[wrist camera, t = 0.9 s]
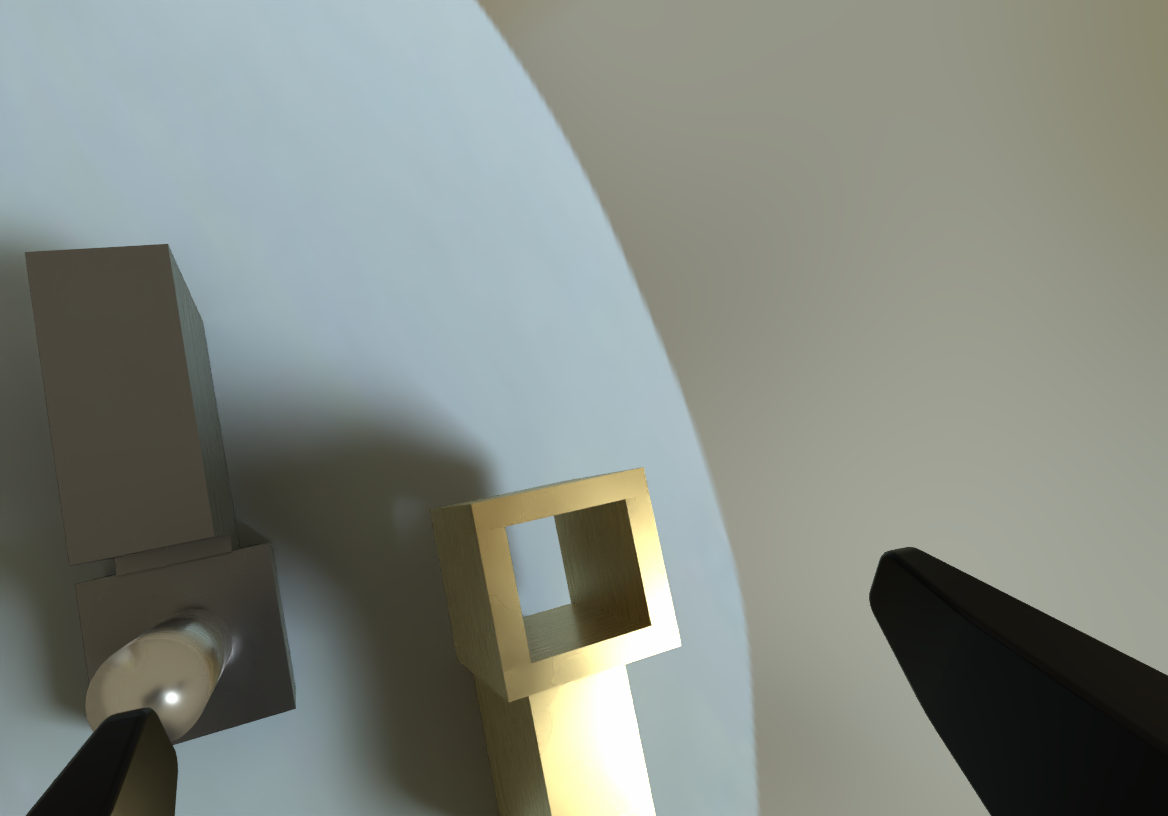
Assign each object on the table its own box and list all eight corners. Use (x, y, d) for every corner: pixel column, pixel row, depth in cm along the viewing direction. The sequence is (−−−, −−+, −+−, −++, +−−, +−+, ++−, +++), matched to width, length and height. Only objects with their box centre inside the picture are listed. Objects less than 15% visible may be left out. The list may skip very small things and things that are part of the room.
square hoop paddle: (603, 803, 22) (740, 927, 15) (478, 854, 21) (568, 1018, 14) (540, 485, 23) (643, 467, 16) (415, 511, 21) (471, 503, 15)
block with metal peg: (295, 687, 20) (295, 773, 13) (125, 735, 18) (21, 864, 11) (233, 318, 20) (203, 212, 14) (67, 334, 19) (-65, 223, 12)
